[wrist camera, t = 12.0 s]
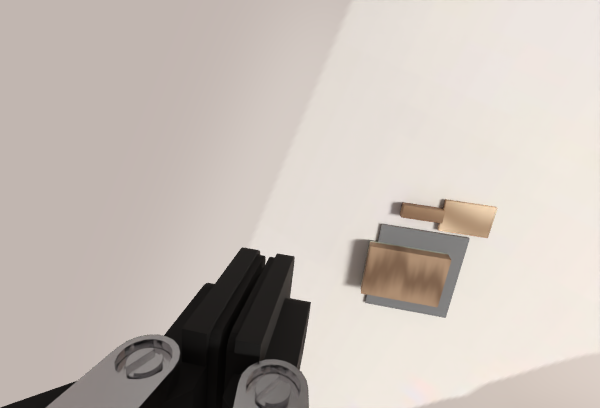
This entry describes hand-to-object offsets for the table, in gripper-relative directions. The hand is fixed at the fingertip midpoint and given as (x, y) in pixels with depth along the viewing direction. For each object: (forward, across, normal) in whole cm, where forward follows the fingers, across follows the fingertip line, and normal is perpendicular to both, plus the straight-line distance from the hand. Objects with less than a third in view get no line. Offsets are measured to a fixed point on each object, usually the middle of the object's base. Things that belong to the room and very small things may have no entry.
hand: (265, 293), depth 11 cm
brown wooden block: (+32, -7, +15) cm, 36 cm away
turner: (+33, -16, +6) cm, 37 cm away
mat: (+33, -14, +15) cm, 39 cm away
